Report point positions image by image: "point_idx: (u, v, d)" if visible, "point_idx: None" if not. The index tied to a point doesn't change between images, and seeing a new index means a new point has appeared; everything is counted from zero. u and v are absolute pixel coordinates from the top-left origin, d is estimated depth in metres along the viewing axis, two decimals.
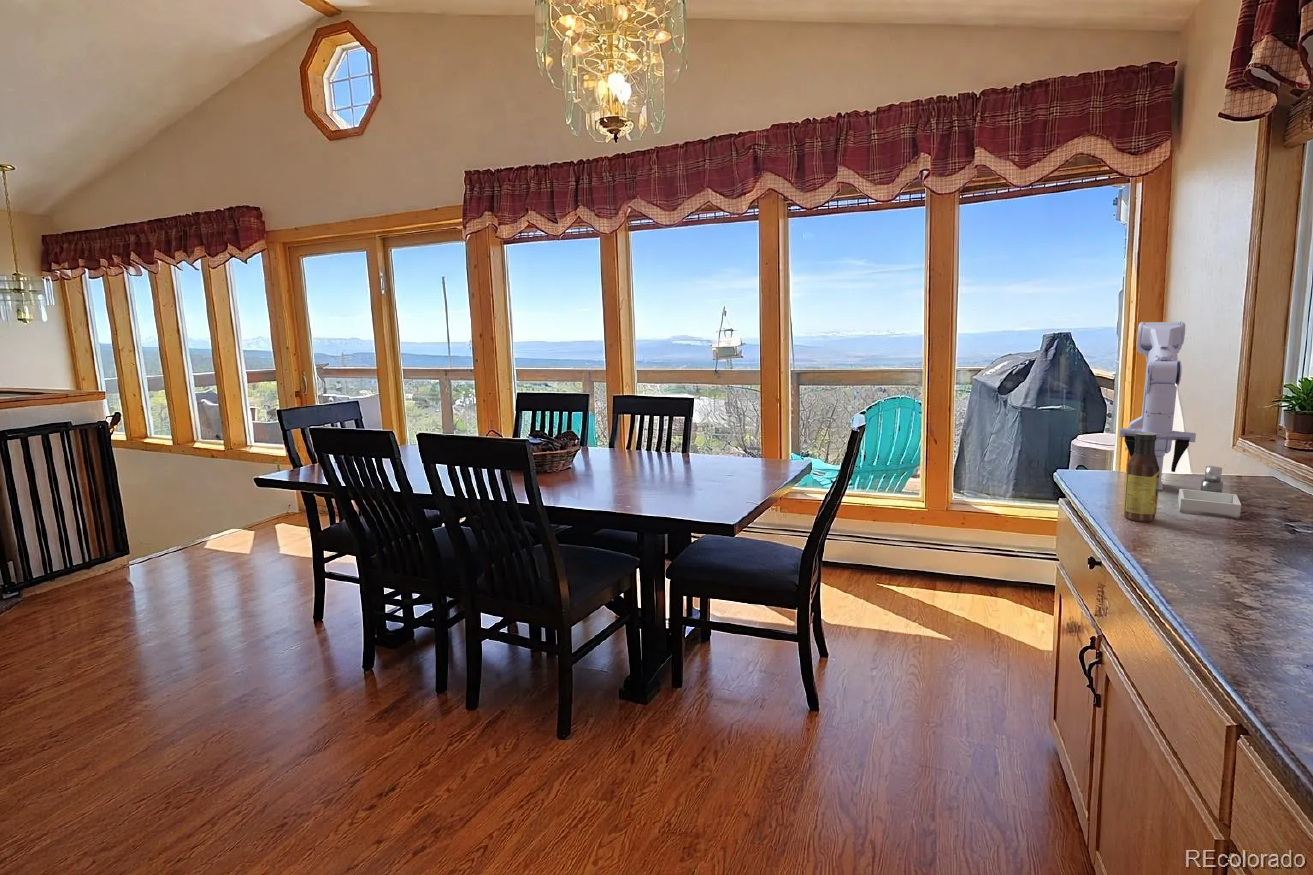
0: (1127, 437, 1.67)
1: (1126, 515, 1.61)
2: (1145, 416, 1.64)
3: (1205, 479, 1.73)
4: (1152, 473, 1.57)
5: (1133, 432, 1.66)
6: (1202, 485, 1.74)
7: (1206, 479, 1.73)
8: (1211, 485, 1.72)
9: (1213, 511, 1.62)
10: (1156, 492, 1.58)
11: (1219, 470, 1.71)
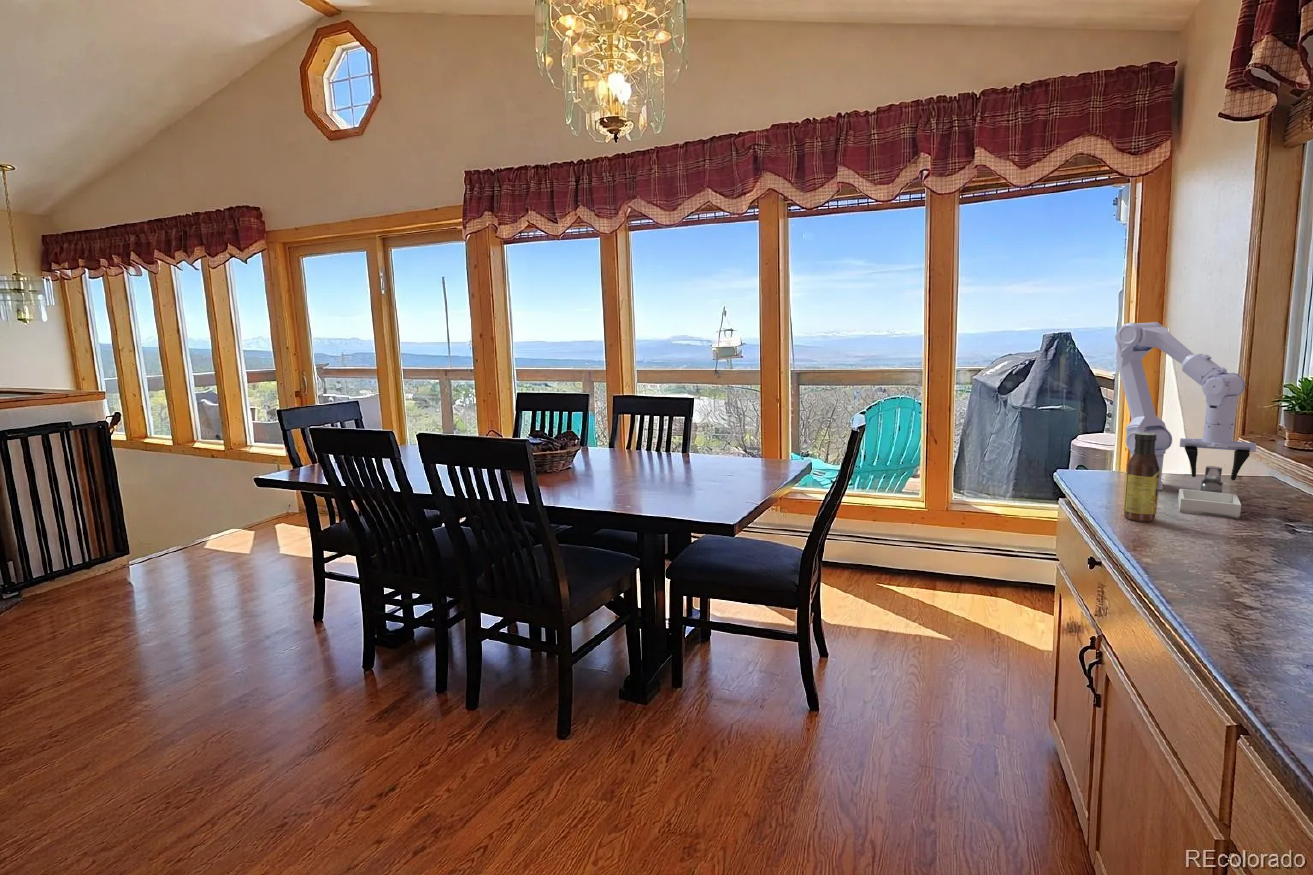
0: (1187, 447, 1.74)
1: (1126, 515, 1.61)
2: (1206, 427, 1.71)
3: (1205, 479, 1.73)
4: (1152, 473, 1.57)
5: (1194, 442, 1.73)
6: (1202, 485, 1.74)
7: (1206, 479, 1.73)
8: (1211, 485, 1.72)
9: (1213, 511, 1.62)
10: (1156, 492, 1.58)
11: (1219, 470, 1.71)
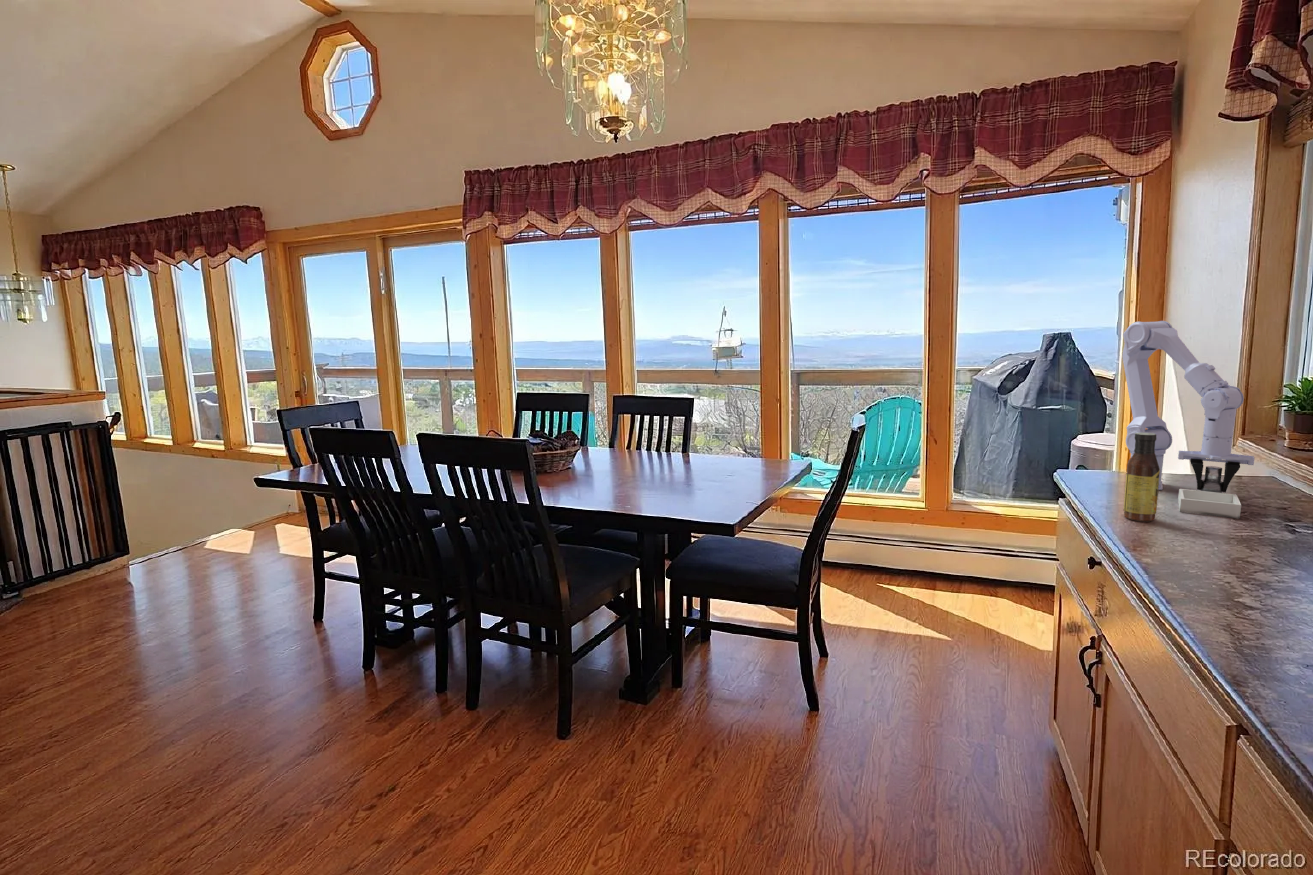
0: None
1: (1126, 515, 1.61)
2: (1204, 439, 1.72)
3: (1205, 479, 1.73)
4: (1152, 473, 1.57)
5: (1192, 455, 1.73)
6: (1202, 485, 1.74)
7: (1206, 479, 1.73)
8: (1211, 485, 1.72)
9: (1213, 511, 1.62)
10: (1156, 492, 1.58)
11: (1219, 470, 1.71)
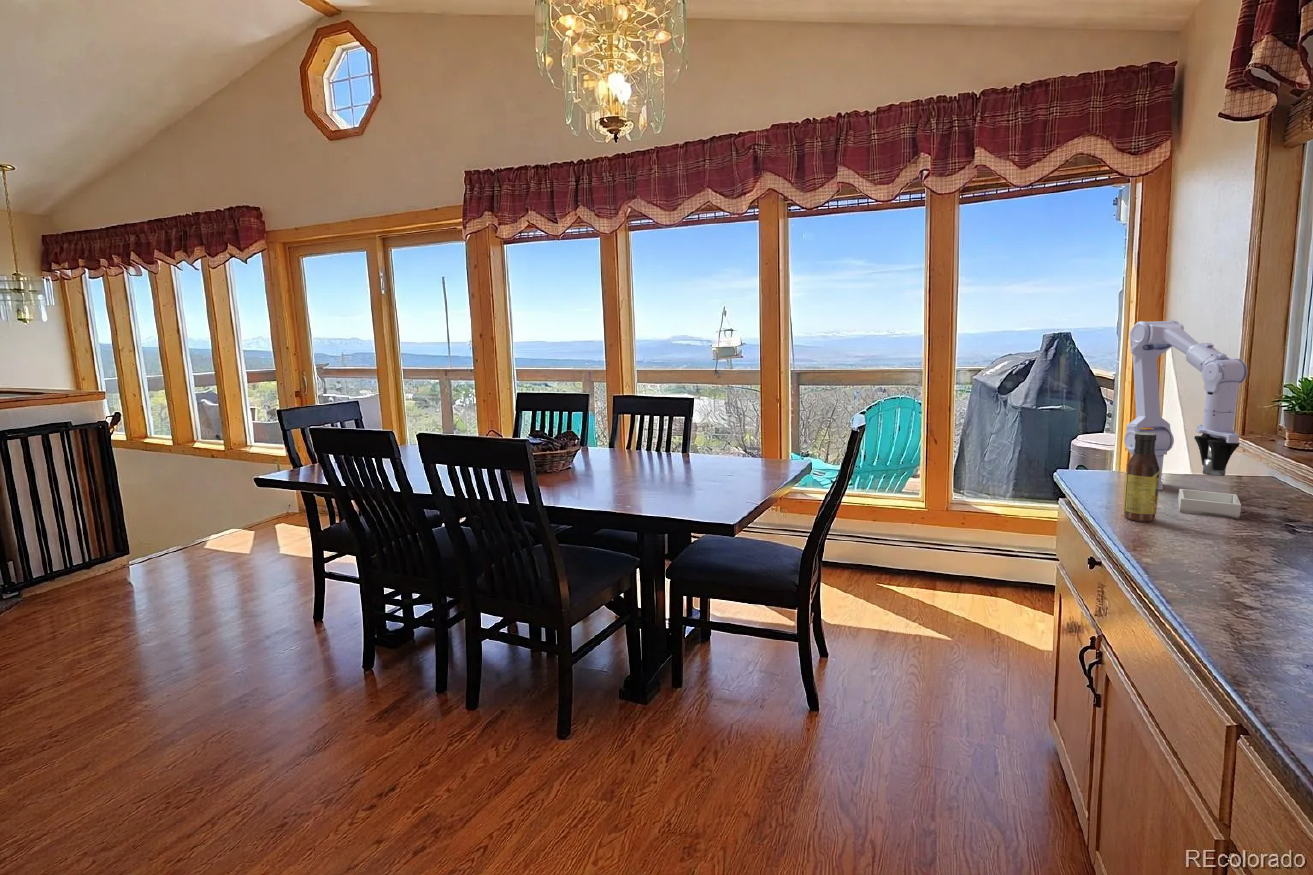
0: None
1: (1126, 515, 1.61)
2: None
3: None
4: (1152, 473, 1.57)
5: (1199, 428, 1.69)
6: None
7: None
8: (1205, 462, 1.66)
9: (1213, 511, 1.62)
10: (1156, 492, 1.58)
11: None
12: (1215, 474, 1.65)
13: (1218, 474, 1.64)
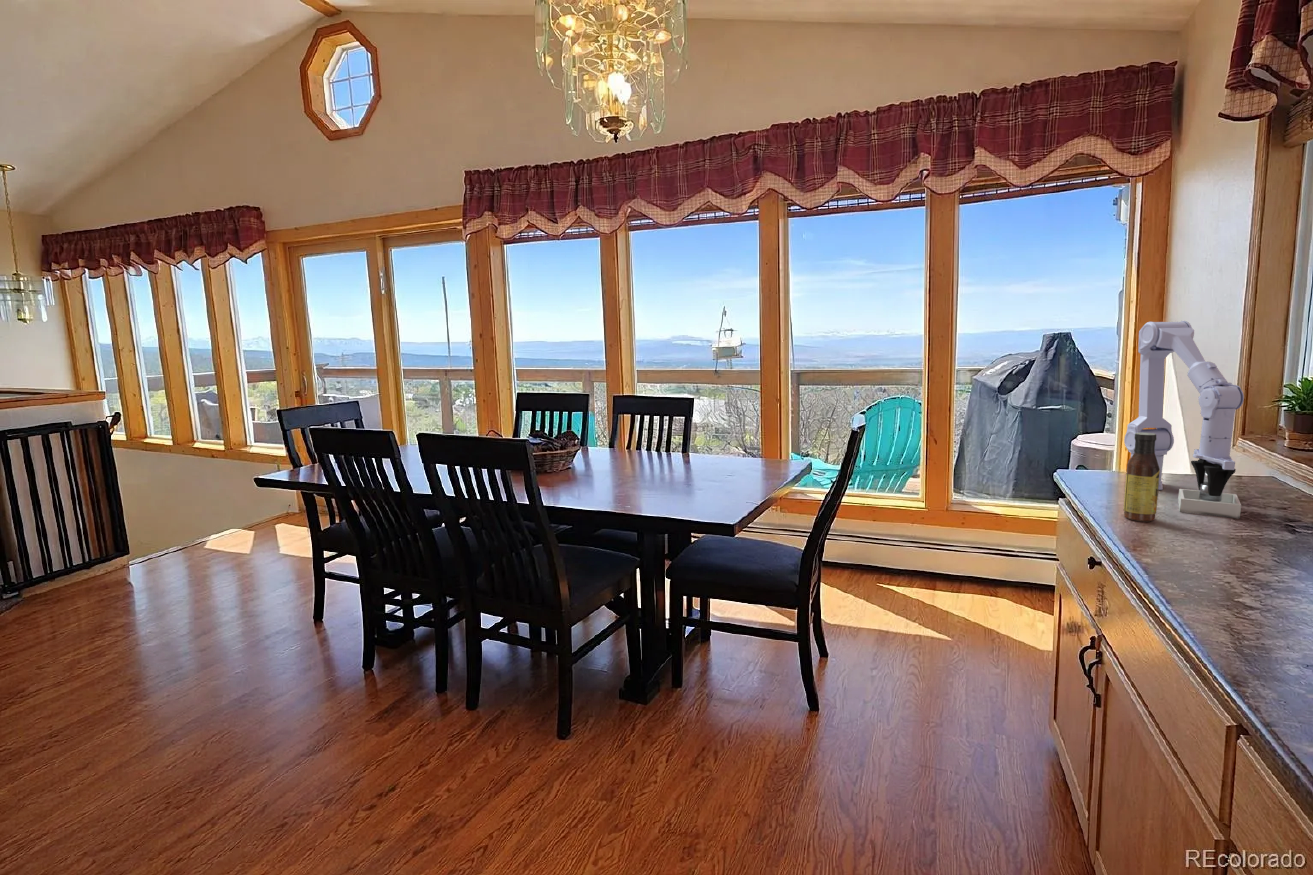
0: None
1: (1126, 515, 1.61)
2: None
3: None
4: (1152, 473, 1.57)
5: (1196, 453, 1.70)
6: None
7: None
8: (1201, 487, 1.67)
9: (1213, 511, 1.62)
10: (1156, 492, 1.58)
11: None
12: (1211, 499, 1.65)
13: (1214, 499, 1.65)
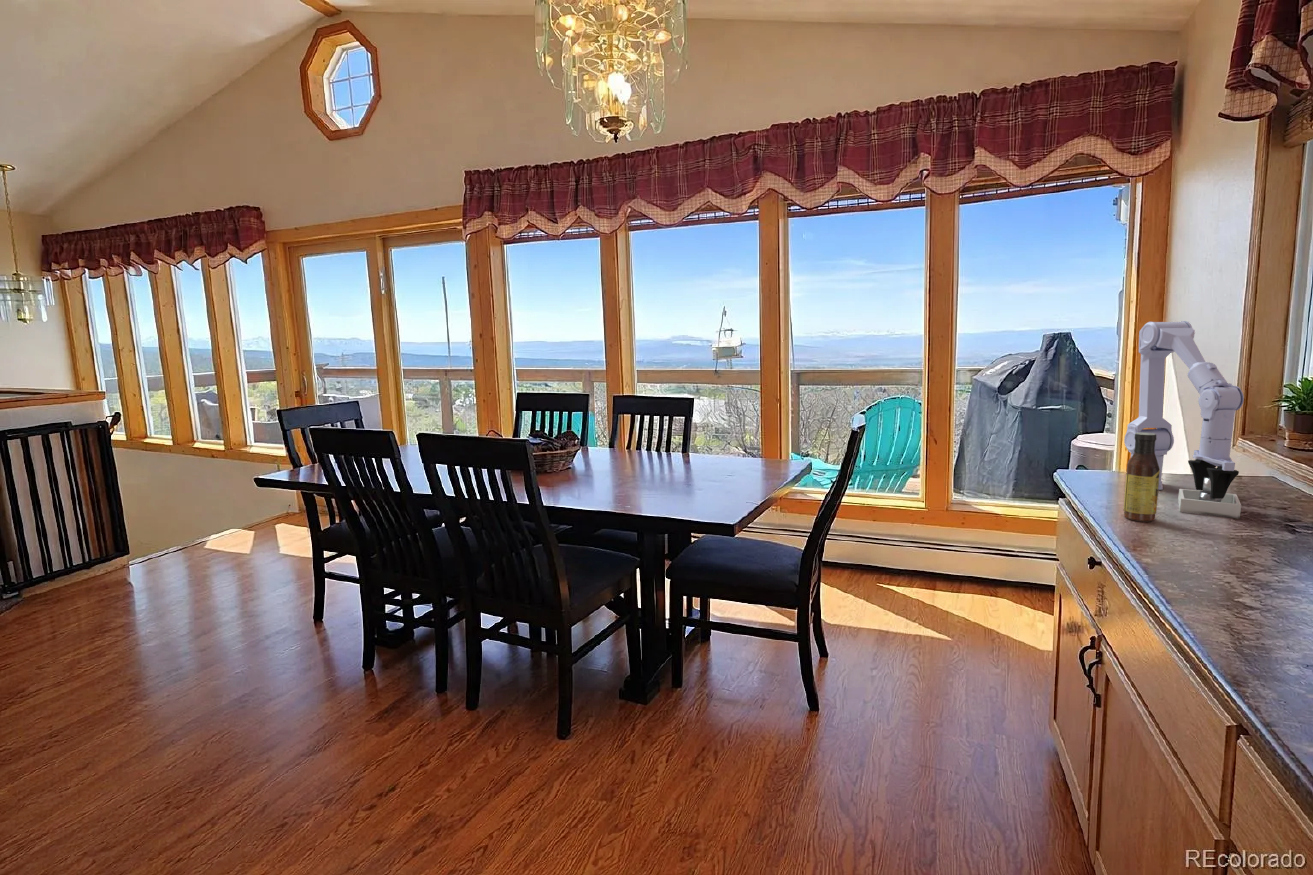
0: (1197, 458, 1.71)
1: (1126, 515, 1.61)
2: None
3: None
4: (1152, 473, 1.57)
5: (1196, 453, 1.70)
6: None
7: None
8: (1200, 495, 1.67)
9: (1213, 511, 1.62)
10: (1156, 492, 1.58)
11: (1209, 481, 1.65)
12: None
13: None
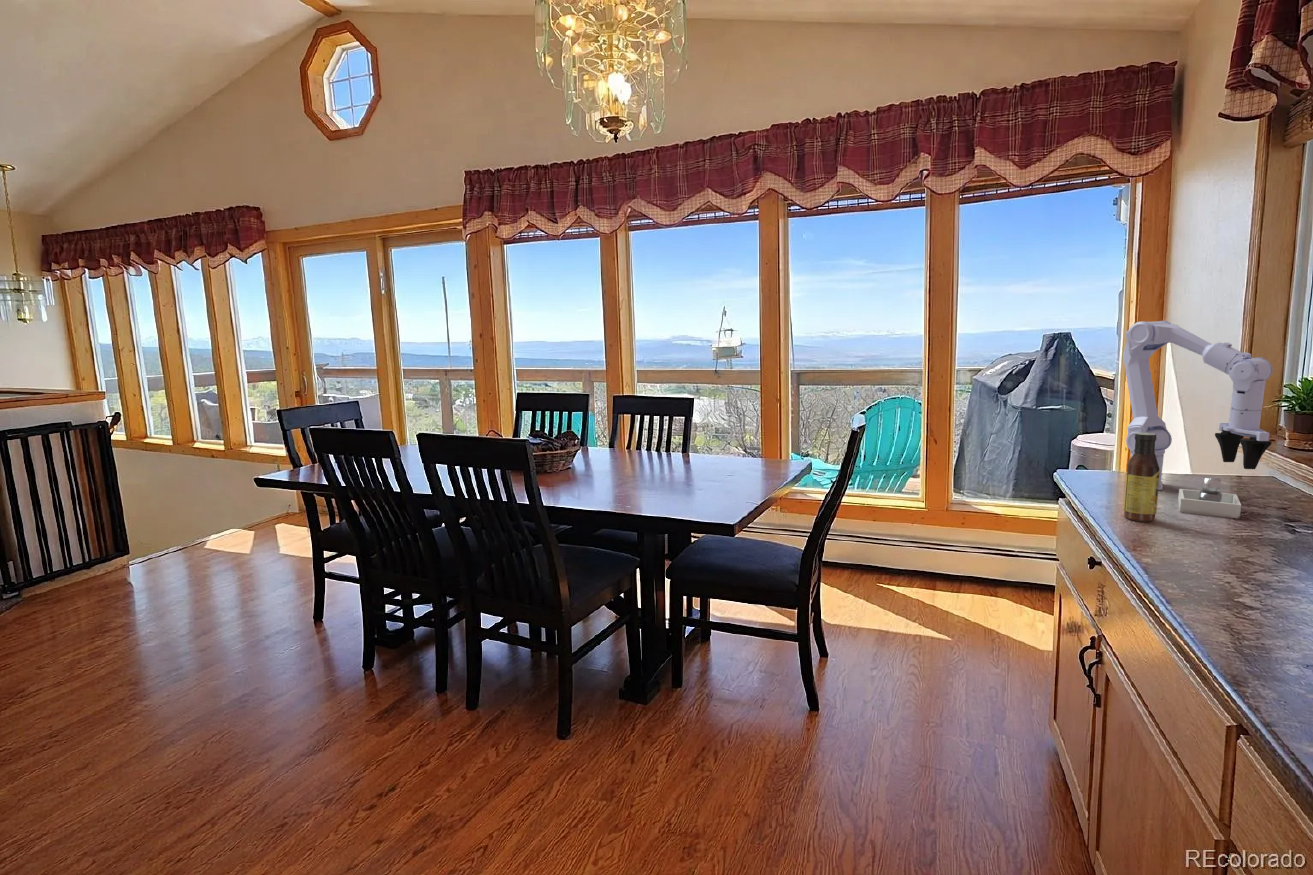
0: (1223, 431, 1.73)
1: (1126, 515, 1.61)
2: None
3: None
4: (1152, 473, 1.57)
5: (1223, 426, 1.72)
6: None
7: None
8: (1200, 495, 1.67)
9: (1213, 511, 1.62)
10: (1156, 492, 1.58)
11: (1209, 481, 1.65)
12: None
13: None
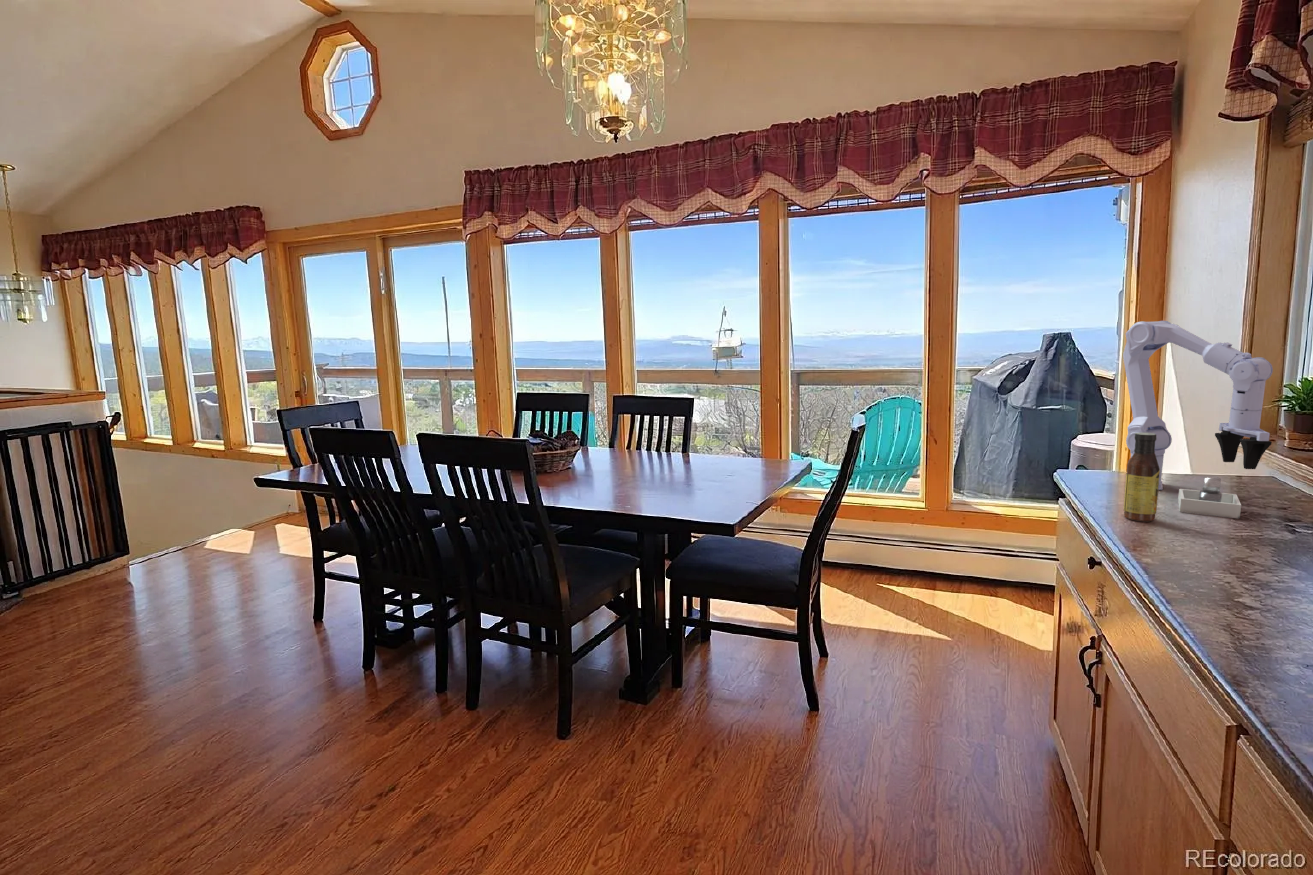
0: (1223, 431, 1.73)
1: (1126, 515, 1.61)
2: None
3: None
4: (1152, 473, 1.57)
5: (1223, 426, 1.72)
6: None
7: None
8: (1200, 494, 1.67)
9: (1213, 511, 1.62)
10: (1156, 492, 1.58)
11: (1208, 480, 1.65)
12: None
13: None
